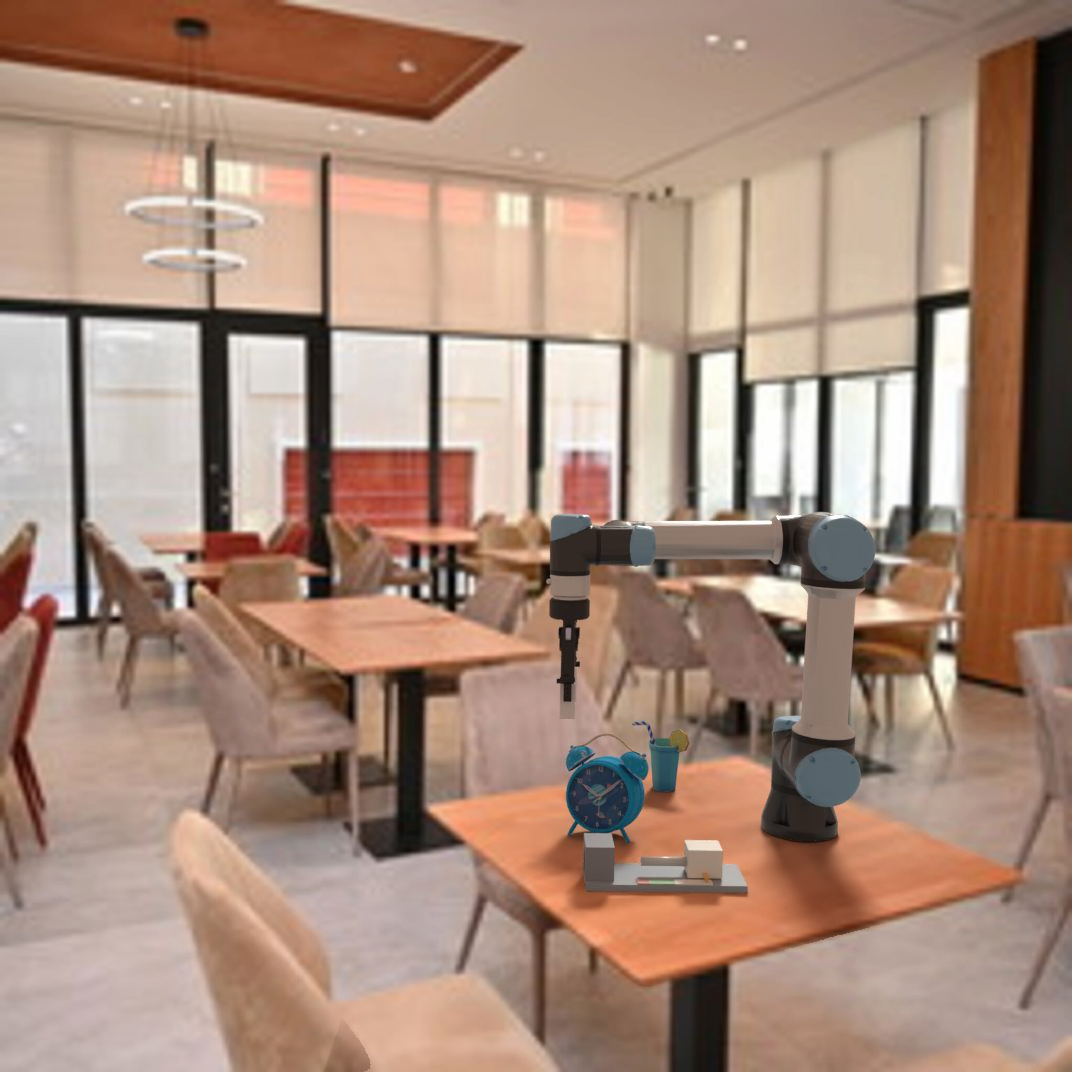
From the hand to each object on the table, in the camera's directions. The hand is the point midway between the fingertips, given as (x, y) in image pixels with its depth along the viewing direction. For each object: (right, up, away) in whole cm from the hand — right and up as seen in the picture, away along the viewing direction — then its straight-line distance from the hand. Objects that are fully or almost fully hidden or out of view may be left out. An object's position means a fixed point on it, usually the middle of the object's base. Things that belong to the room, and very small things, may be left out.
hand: (568, 709), depth 200 cm
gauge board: (+16, -29, -11) cm, 35 cm away
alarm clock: (+7, -27, +11) cm, 30 cm away
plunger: (+19, -27, -12) cm, 35 cm away
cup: (+22, -25, +42) cm, 54 cm away
